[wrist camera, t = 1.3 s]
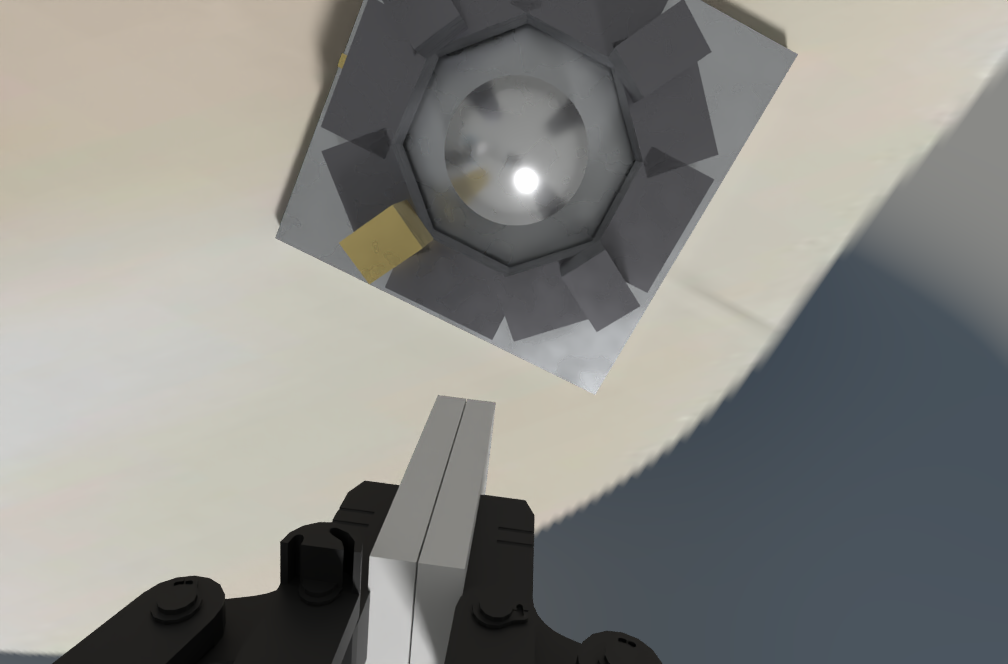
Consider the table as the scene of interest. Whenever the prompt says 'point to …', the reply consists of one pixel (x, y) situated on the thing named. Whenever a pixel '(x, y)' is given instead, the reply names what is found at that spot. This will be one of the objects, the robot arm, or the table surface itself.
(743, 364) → the table surface
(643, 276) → the octagonal block ring
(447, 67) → the base plate
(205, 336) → the table surface
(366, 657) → the robot arm
